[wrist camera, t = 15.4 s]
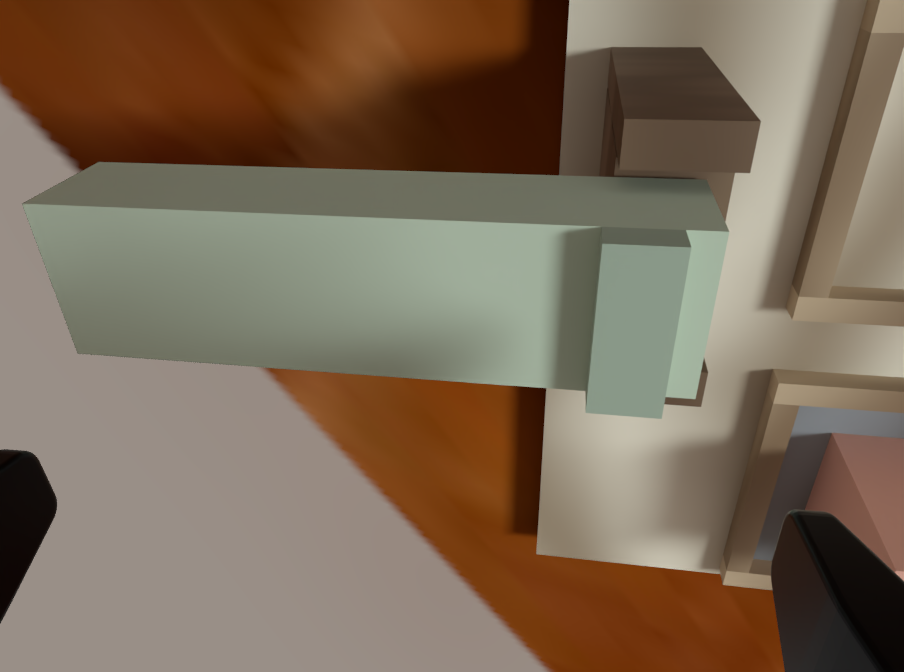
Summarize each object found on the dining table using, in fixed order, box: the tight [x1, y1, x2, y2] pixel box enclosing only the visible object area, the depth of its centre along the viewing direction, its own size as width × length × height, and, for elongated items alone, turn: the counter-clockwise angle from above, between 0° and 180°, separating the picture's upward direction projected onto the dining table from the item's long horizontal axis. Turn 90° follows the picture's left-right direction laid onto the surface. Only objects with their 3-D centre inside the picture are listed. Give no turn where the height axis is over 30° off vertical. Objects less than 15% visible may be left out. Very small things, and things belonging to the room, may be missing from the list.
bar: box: [22, 162, 729, 419], centre depth 12 cm, size 11×3×3 cm, turn 91°
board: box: [536, 0, 904, 590], centre depth 17 cm, size 16×20×7 cm
